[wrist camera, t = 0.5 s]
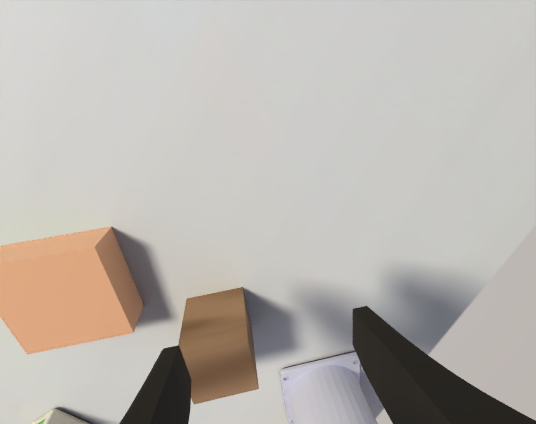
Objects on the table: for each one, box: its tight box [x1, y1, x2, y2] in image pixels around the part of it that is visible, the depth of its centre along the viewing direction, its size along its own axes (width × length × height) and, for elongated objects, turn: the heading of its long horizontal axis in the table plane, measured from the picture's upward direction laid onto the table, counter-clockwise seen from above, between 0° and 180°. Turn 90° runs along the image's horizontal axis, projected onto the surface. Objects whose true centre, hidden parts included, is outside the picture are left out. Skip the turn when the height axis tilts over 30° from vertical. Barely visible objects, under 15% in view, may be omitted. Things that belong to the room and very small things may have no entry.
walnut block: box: [178, 287, 259, 404], centre depth 20 cm, size 4×4×6 cm
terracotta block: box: [0, 227, 144, 354], centre depth 18 cm, size 7×7×3 cm
